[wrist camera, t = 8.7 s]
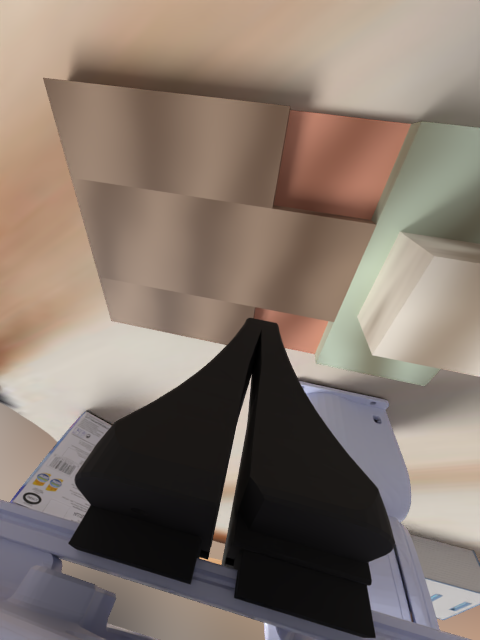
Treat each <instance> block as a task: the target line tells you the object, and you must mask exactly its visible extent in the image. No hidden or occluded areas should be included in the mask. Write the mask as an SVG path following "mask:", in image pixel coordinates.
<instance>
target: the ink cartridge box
mask: <svg viewBox="0 0 480 640" xmlns="http://www.w3.org/2000/svg"><path fill="white" fill-rule="evenodd" d="M111 426H112V425H110V424H108V423H107V422H105V421H103V420H101V419H99V418H98V417H96V416H94V415H92V414H90V413H89V412H84V413H83V414H82V415H81V416H80V417H79V418H78V419H77V420H76V422H75V423H74V424H73V425H72V426H71V427H70V428H69V430H68V431H67V432H66V433H65V434H64V435H63V437H62V438H61V439H60V440H59V441H58V442H57V444H56V445H55V446H54V447H53V449H52V450H51V451H50V452H49V453H48V455H47V456H46V457H45V458H44V460H43V461H42V462H41V463H40V464H39V466H38V467H37V468H36V469H35V471H34V472H33V473H32V474H31V475H30V477H29V478H28V479H27V481H26V482H25V483H24V484H23V486H22V487H21V488H20V489H19V491H18V492H17V493H16V495H15V496H14V498H13V499H12V500H11V502H10V503H14V504H17V505H20V506H24V507H27V508H30V509H34V510H37V511H40V512H44V513H47V514H51V515H54V516H57V517H61V518H64V519H67V520H71V521H74V522H77V523H80V522H81V521H82V519H83V517H84V515H85V514H86V512H87V510H88V509H89V507H90V505H91V504H90V503H89V502H88V501H87V499H86V498H85V497H84V496H83V495H82V493H81V492H80V491H79V490H78V488H77V487H76V485H75V480H74V479H75V475H76V474H77V472H78V471H79V469H80V468H81V466H82V465H83V463H84V462H85V460H86V459H87V457H88V456H89V454H90V453H91V452H92V450H93V449H94V447H95V446H96V444H97V443H98V442H99V441H100V439H101V438H102V437H103V436H104V435H105V433H106V432H107V431H108V430H109V429H110V427H111Z"/></svg>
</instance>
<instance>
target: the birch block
mask: <svg viewBox="0 0 480 640" xmlns="http://www.w3.org/2000/svg"><path fill="white" fill-rule="evenodd" d="M357 318H358V320H359V323H360V326H361V328H362V331H363V333H364V336H365V338H366V341H367V343H368V346H369V348H370V351H371V353H372V355H374V356H379V357H384V358H389V359H394V360H399V361H404V362H409V363H414V364H419V365H424V366H429V367H434V368H438V369H443V370H448V371H453V372H458V373H463V374H468V375H473V376H478V377H480V244H477V243H471V242H464V241H458V240H451V239H445V238H438V237H432V236H425V235H419V234H412V233H406V232H399V234H398V236H397V238H396V240H395V242H394V244H393V246H392V248H391V250H390V252H389V254H388V256H387V258H386V260H385V262H384V264H383V266H382V268H381V270H380V272H379V274H378V276H377V278H376V280H375V282H374V284H373V286H372V288H371V290H370V292H369V294H368V296H367V298H366V300H365V302H364V304H363V306H362V308H361V310H360V312H359V314H358V316H357Z"/></svg>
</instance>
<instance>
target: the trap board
mask: <svg viewBox="0 0 480 640" xmlns="http://www.w3.org/2000/svg"><path fill="white" fill-rule="evenodd" d="M43 79H44V83H45V87H46V90H47V94H48V97H49V101H50V104H51V108H52V111H53V115H54V119H55V122H56V126H57V129H58V133H59V136H60V140H61V143H62V147H63V151H64V154H65V158H66V161H67V165H68V168H69V172H70V175H71V179H72V183H73V186H74V190H75V193H76V197H77V200H78V204H79V207H80V211H81V215H82V218H83V222H84V225H85V229H86V232H87V236H88V239H89V243H90V247H91V250H92V254H93V257H94V261H95V264H96V268H97V271H98V275H99V279H100V282H101V286H102V289H103V293H104V296H105V300H106V303H107V307H108V311H109V314H110V318H111V321H114V322H119V323H124V324H129V325H134V326H138V327H143V328H148V329H153V330H157V331H162V332H167V333H172V334H177V335H181V336H186V337H191V338H196V339H201V340H205V341H210V342H215V343H220V344H225V345H228V344H229V342H230V341H231V340H232V339H233V338H234V337H235V335H236V334H237V333H238V332H239V330H240V329H241V328H242V326H243V325H244V323H245V321H246V319H248V318H254V319H259V320H264V321H269V322H274V323H277V324H278V326H279V331H280V335H281V338H282V342H283V345H284V348H288V349H293V350H298V351H303V352H307V353H312V354H315V360H316V364H320V365H325V366H330V367H335V368H339V369H344V370H349V371H354V372H359V373H363V374H368V375H373V376H378V377H382V378H387V379H392V380H397V381H402V382H406V383H411V384H416V385H421V386H426V385H427V384H428V383H429V382H430V380H431V379H432V378H433V377H434V376H435V375H436V374H437V373H438V372H439V371H440V370H441V369H438V368H434V367H429V366H424V365H419V364H414V363H409V362H404V361H399V360H394V359H389V358H384V357H379V356H374V355H372V353H371V351H370V348H369V346H368V343H367V341H366V338H365V336H364V333H363V331H362V328H361V326H360V323H359V320H358V318H357V316H358V314H359V312H360V310H361V308H362V306H363V304H364V302H365V300H366V298H367V296H368V294H369V292H370V290H371V288H372V286H373V284H374V282H375V280H376V278H377V276H378V274H379V272H380V270H381V268H382V266H383V264H384V262H385V260H386V258H387V256H388V254H389V252H390V250H391V248H392V246H393V244H394V242H395V240H396V238H397V236H398V234H399V232H406V233H412V234H419V235H425V236H432V237H438V238H445V239H451V240H458V241H464V242H471V243H477V244H480V128H477V127H468V126H460V125H451V124H442V123H433V122H425V121H421V122H417V123H413V124H407V123H398V122H389V121H381V120H372V119H363V118H355V117H346V116H337V115H329V114H320V113H312V112H303V111H294V110H290V106H285V105H276V104H267V103H259V102H250V101H241V100H232V99H224V98H215V97H206V96H197V95H189V94H180V93H171V92H162V91H154V90H145V89H136V88H127V87H119V86H110V85H101V84H92V83H84V82H75V81H66V80H57V79H49V78H43Z"/></svg>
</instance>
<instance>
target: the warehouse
mask: <svg viewBox="0 0 480 640" xmlns="http://www.w3.org/2000/svg"><path fill="white" fill-rule="evenodd" d="M410 536H411V538H412V541H413V544H414V546H415V549H416V552H417V555H418V558H419V561H420V564H421V567H422V571H423V574H424V577H425V580H426V583H427V587H428V590H429V594H430V597H431V600H432V604H433V607H434V611H435V614H436V618H437V619H441V620H445V619H448V618H450V617H452V616H455V615H457V614H459V613H462V612H464V611H466V610H469V609H471V608H473V607H476V606H478V605H480V563H479V561H478V558H477V556H476V554H475V552H474V551H473V550H468V549H465V548H461V547H457V546H453V545H449V544H445V543H442V542H438V541H434V540H430V539H426V538H422V537H419V536H415V535H411V534H410Z"/></svg>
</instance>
